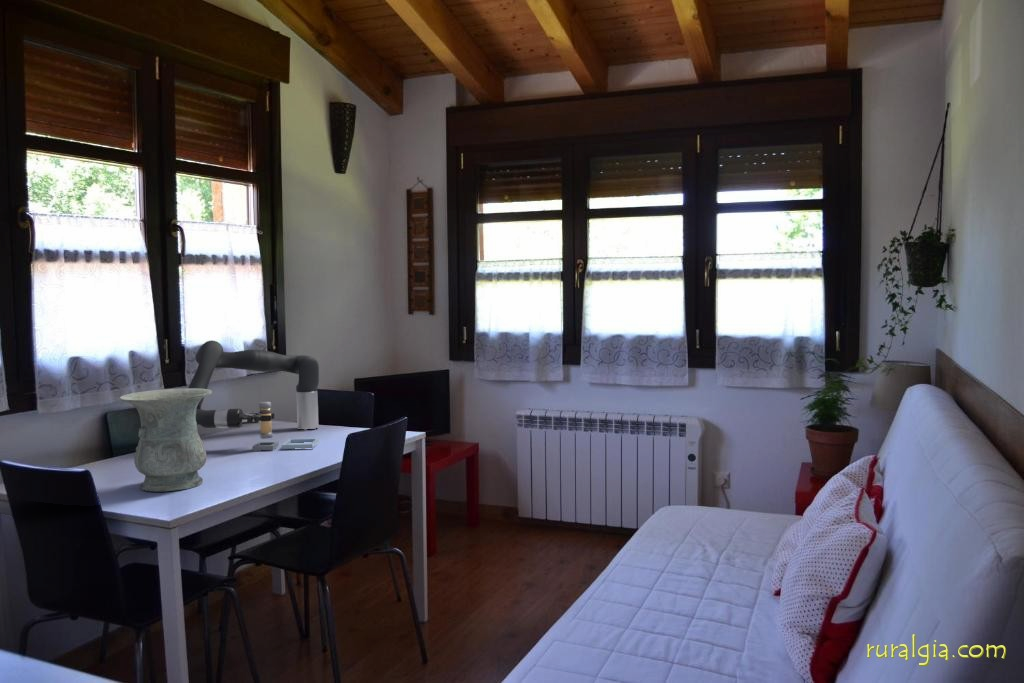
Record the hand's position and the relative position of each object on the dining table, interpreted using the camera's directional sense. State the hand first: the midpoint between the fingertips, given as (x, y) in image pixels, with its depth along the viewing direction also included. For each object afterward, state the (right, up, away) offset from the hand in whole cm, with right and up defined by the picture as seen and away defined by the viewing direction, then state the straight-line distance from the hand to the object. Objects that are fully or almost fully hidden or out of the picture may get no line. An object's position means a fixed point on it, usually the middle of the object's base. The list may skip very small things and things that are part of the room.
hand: (272, 417), depth 299 cm
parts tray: (+10, -12, +4) cm, 16 cm away
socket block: (-3, -13, +1) cm, 13 cm away
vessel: (-15, -17, -55) cm, 59 cm away
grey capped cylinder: (-3, -8, 0) cm, 8 cm away
